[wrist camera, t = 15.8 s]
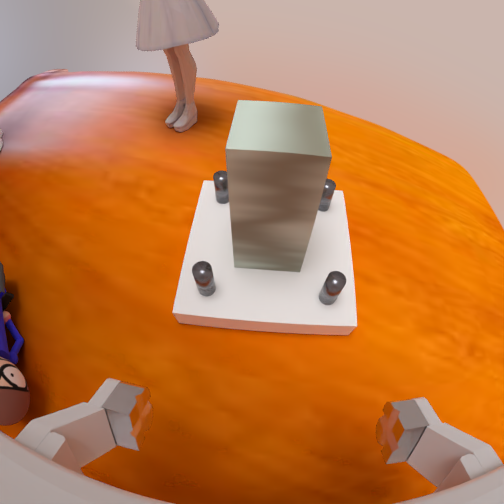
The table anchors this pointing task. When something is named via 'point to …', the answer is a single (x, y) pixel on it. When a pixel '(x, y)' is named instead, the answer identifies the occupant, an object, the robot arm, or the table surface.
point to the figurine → (176, 46)
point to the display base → (267, 274)
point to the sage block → (275, 181)
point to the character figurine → (10, 366)
